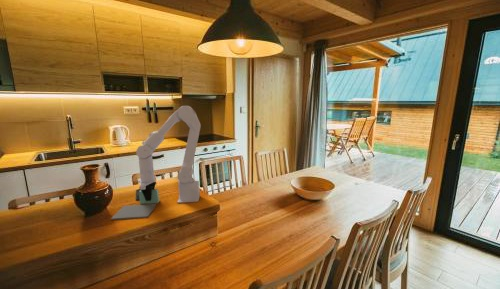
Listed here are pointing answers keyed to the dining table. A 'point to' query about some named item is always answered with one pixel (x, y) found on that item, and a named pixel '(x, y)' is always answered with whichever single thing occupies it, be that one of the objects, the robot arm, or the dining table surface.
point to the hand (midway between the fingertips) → (149, 199)
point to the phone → (137, 195)
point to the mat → (134, 211)
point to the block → (153, 197)
